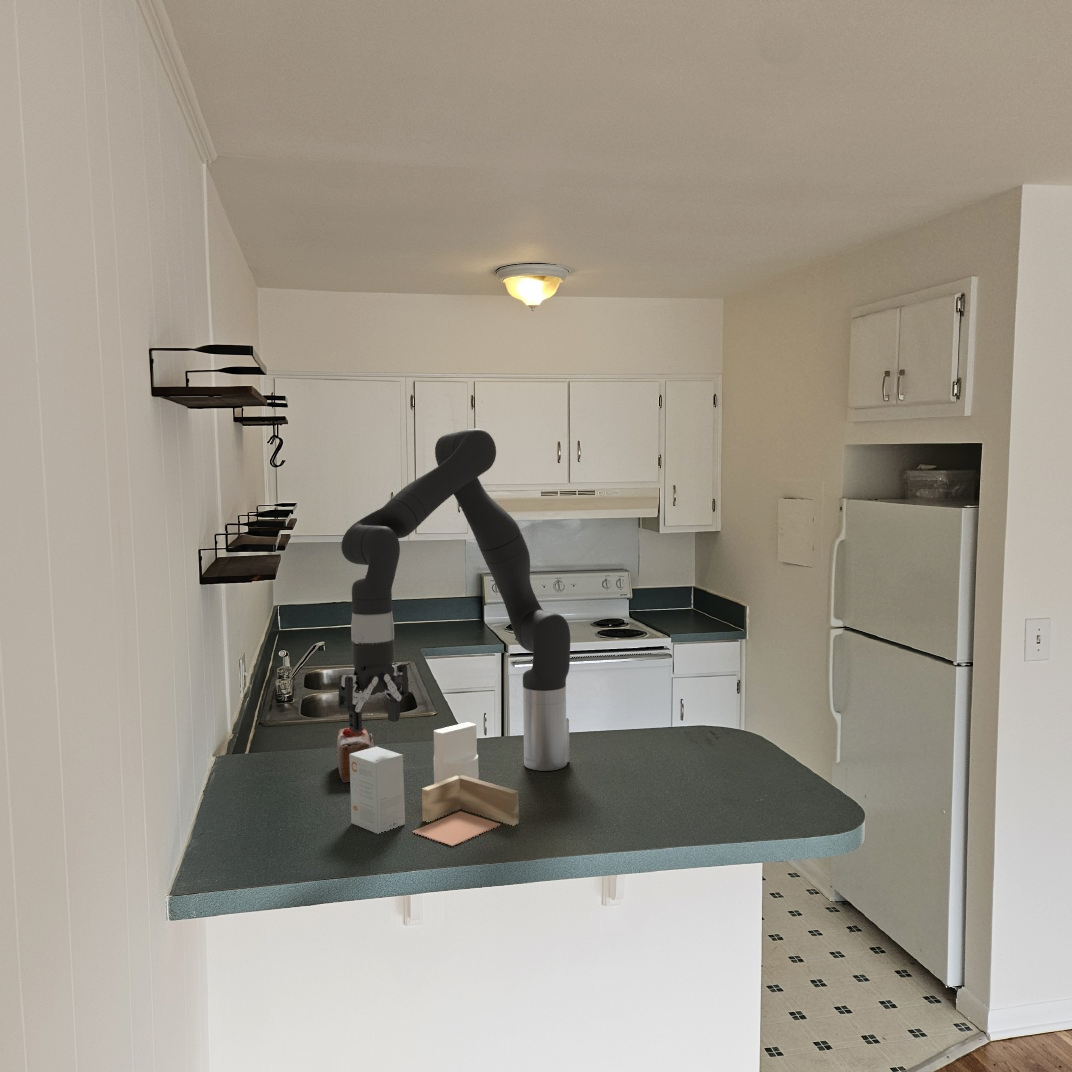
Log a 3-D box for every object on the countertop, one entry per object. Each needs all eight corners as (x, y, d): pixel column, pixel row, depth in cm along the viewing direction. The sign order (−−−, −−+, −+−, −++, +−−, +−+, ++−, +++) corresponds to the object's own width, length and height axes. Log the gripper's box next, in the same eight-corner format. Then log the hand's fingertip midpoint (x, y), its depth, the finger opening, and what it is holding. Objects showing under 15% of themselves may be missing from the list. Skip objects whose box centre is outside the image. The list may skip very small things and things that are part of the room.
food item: (335, 764, 203) (334, 720, 202) (372, 760, 205) (371, 716, 204) (338, 785, 190) (336, 737, 189) (377, 781, 192) (376, 734, 191)
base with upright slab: (451, 797, 182) (450, 736, 181) (425, 785, 188) (423, 727, 187) (487, 786, 188) (486, 727, 187) (461, 775, 194) (459, 718, 193)
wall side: (457, 806, 177) (456, 775, 176) (463, 808, 176) (462, 777, 175) (422, 820, 170) (421, 788, 169) (428, 822, 169) (427, 790, 168)
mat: (460, 812, 173) (460, 811, 173) (500, 825, 167) (500, 823, 167) (412, 832, 164) (412, 831, 164) (452, 847, 158) (452, 845, 158)
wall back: (463, 806, 177) (462, 775, 176) (518, 823, 168) (518, 791, 167) (457, 808, 176) (456, 777, 175) (513, 826, 167) (512, 793, 166)
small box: (406, 824, 168) (404, 754, 167) (377, 835, 163) (375, 762, 162) (378, 813, 174) (376, 745, 173) (350, 823, 169) (348, 753, 168)
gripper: (389, 629, 174) (391, 714, 175) (327, 640, 163) (329, 731, 164) (416, 633, 169) (418, 721, 170) (354, 645, 158) (357, 739, 159)
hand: (375, 726), depth 167 cm, fingers open, 8 cm apart
